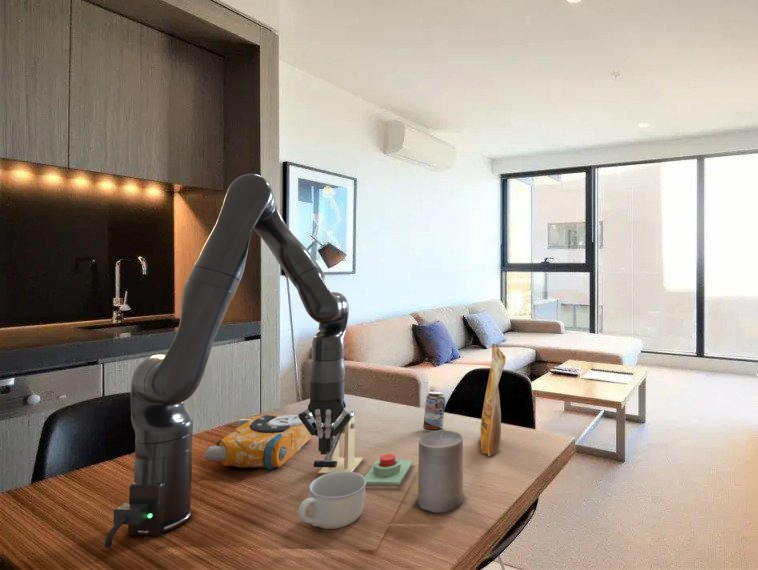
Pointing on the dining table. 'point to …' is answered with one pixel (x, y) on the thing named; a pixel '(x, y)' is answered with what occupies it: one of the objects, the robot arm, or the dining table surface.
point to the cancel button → (387, 460)
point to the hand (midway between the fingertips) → (325, 453)
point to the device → (261, 442)
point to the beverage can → (434, 411)
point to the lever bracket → (345, 452)
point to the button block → (388, 473)
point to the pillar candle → (440, 471)
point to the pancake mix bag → (492, 406)
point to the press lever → (328, 457)
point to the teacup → (334, 500)
